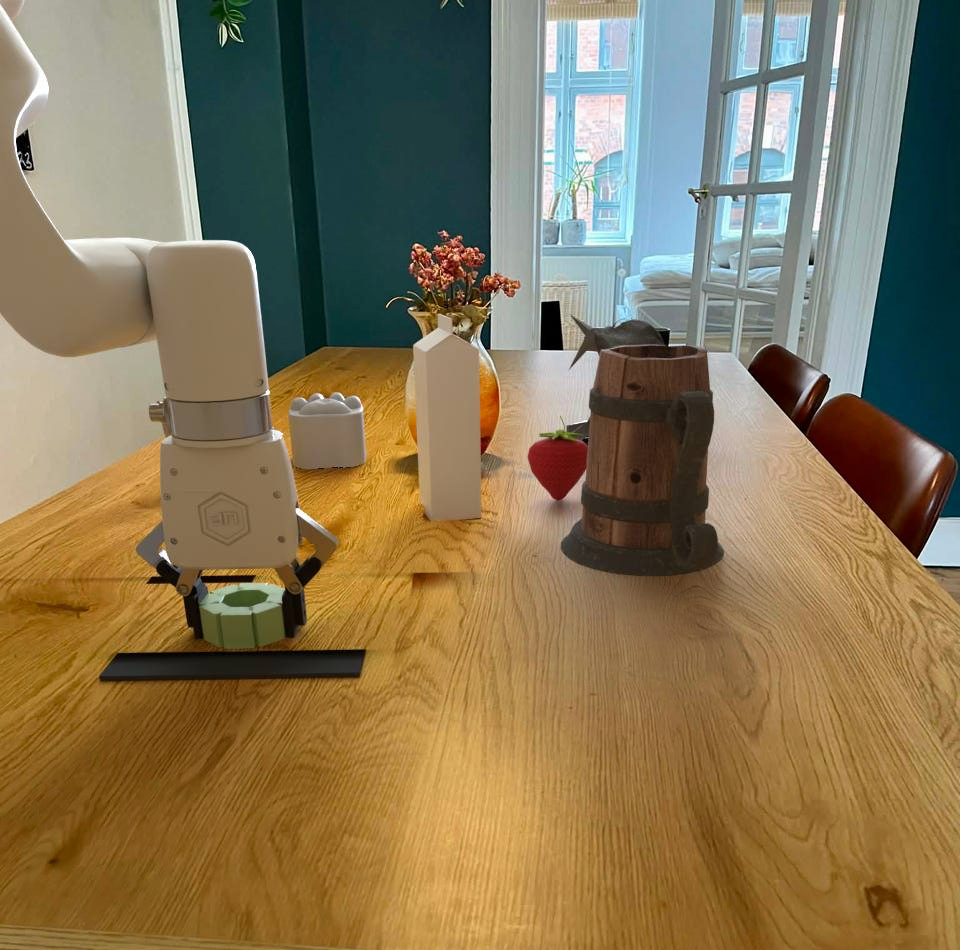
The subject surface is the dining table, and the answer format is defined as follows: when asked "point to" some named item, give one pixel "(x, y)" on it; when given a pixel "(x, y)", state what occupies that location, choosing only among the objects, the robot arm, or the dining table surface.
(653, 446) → the tankard
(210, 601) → the ring
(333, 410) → the lumpy-topped squat cylinder
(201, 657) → the mat
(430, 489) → the milk
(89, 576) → the dining table surface
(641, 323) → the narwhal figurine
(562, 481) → the strawberry
